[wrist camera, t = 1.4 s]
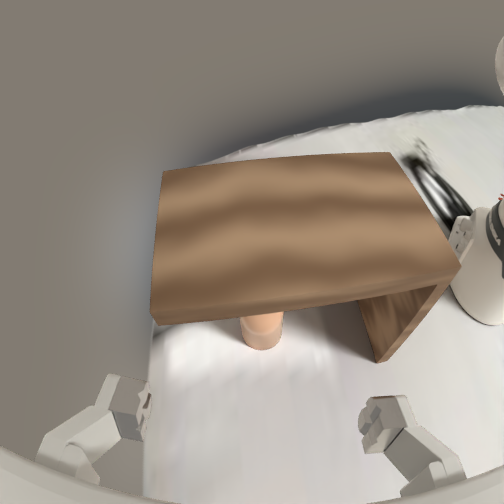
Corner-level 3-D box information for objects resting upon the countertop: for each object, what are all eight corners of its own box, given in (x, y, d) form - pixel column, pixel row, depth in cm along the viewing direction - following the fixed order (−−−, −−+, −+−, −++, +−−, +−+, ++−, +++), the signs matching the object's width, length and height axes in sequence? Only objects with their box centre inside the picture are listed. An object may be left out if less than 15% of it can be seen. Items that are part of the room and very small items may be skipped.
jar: (253, 308, 43) (249, 250, 33) (289, 323, 41) (296, 269, 32) (233, 340, 40) (222, 289, 31) (271, 357, 38) (272, 311, 29)
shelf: (387, 360, 37) (461, 266, 21) (202, 391, 36) (149, 311, 20) (355, 266, 46) (389, 152, 31) (197, 287, 45) (163, 171, 30)
